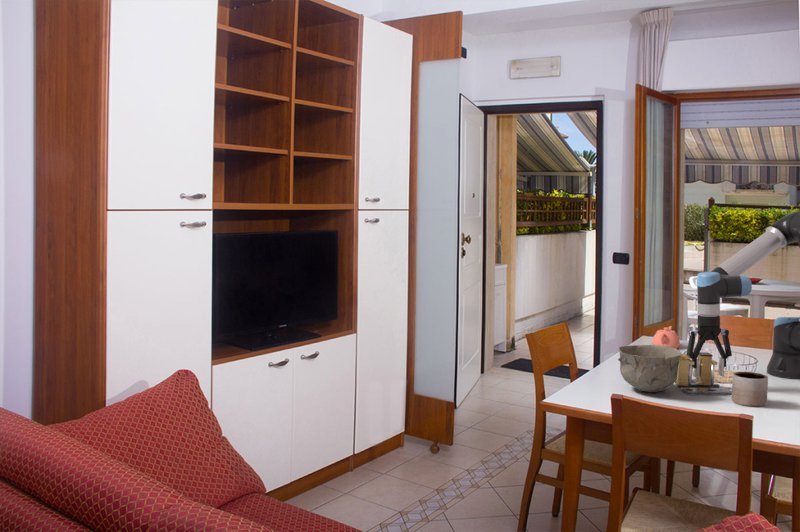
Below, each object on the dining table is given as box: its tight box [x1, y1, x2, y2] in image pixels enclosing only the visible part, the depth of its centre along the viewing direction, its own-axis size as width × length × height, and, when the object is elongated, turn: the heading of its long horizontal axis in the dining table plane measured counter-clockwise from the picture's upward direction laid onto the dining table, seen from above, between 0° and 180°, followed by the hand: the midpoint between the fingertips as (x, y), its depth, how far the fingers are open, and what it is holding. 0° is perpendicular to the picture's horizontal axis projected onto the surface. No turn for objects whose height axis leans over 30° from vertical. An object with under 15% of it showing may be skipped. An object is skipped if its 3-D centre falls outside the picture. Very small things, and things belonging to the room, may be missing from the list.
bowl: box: [617, 344, 683, 393], centre depth 257 cm, size 22×22×15 cm
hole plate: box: [681, 387, 732, 396], centre depth 255 cm, size 16×6×1 cm, turn 89°
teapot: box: [651, 325, 681, 350], centre depth 336 cm, size 12×18×10 cm
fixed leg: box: [674, 353, 694, 387], centre depth 259 cm, size 4×12×11 cm, turn 179°
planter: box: [730, 371, 769, 408], centre depth 243 cm, size 11×11×10 cm
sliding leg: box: [695, 351, 718, 387], centre depth 259 cm, size 4×12×11 cm, turn 179°
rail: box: [675, 382, 721, 389], centre depth 263 cm, size 15×2×1 cm, turn 89°
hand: (709, 375), depth 263 cm, fingers open, 8 cm apart
